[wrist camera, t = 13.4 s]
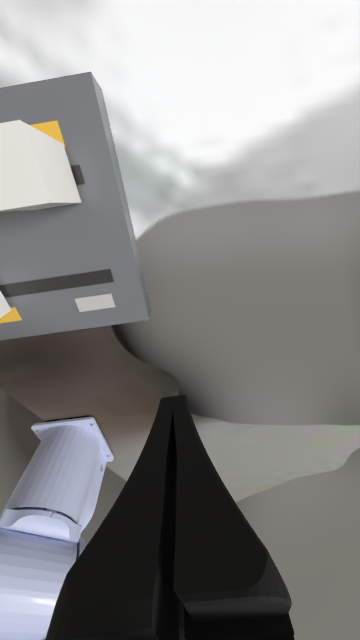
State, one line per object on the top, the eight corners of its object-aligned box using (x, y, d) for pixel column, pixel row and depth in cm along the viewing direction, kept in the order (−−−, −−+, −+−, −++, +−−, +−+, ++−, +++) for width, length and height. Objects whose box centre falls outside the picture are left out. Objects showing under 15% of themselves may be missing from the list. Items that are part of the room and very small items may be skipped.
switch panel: (151, 309, 20) (149, 320, 18) (-12, 332, 21) (-30, 345, 19) (101, 89, 13) (90, 70, 11) (-146, 133, 14) (-196, 122, 12)
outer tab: (81, 202, 14) (50, 202, 10) (36, 209, 14) (-10, 212, 10) (63, 143, 12) (19, 119, 9) (12, 152, 12) (-51, 131, 9)
